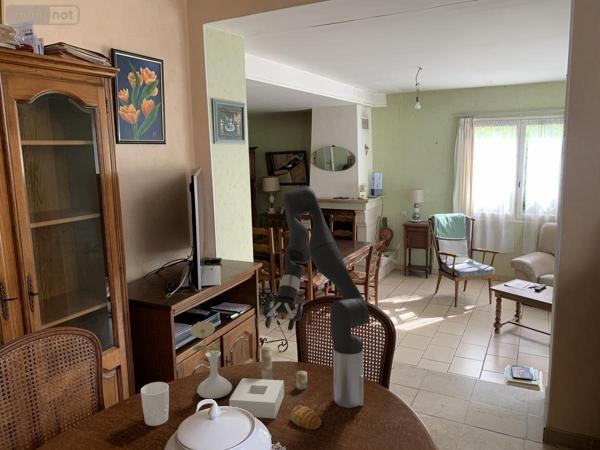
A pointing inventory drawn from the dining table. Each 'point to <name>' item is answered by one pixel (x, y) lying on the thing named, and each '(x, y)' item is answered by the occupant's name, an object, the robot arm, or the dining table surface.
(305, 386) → the short birch pin
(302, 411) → the pastry
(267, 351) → the tall birch pin
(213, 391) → the flower in vase
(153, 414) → the white cup
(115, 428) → the dining table surface
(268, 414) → the guide block
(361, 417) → the dining table surface
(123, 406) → the dining table surface
